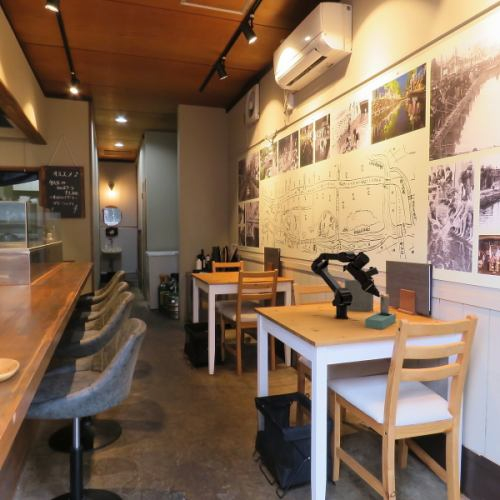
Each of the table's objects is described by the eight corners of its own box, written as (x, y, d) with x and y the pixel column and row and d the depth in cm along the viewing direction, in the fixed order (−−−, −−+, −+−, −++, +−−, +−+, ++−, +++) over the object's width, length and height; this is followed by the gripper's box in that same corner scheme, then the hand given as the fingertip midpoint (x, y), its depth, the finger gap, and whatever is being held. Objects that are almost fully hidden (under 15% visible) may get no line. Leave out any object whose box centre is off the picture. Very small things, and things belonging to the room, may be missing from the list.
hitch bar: (380, 319, 210) (380, 311, 210) (395, 321, 206) (395, 313, 205) (365, 327, 194) (365, 318, 194) (382, 329, 190) (382, 321, 189)
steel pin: (379, 321, 206) (379, 293, 206) (387, 321, 206) (387, 294, 205) (381, 323, 202) (381, 295, 202) (389, 323, 202) (389, 295, 201)
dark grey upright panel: (344, 310, 234) (344, 275, 233) (344, 309, 238) (344, 275, 237) (373, 311, 230) (373, 276, 229) (372, 310, 234) (373, 275, 233)
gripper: (368, 263, 196) (392, 286, 193) (368, 260, 214) (390, 282, 211) (351, 278, 198) (375, 302, 196) (353, 274, 216) (374, 296, 214)
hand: (379, 295), depth 204 cm, fingers open, 9 cm apart
